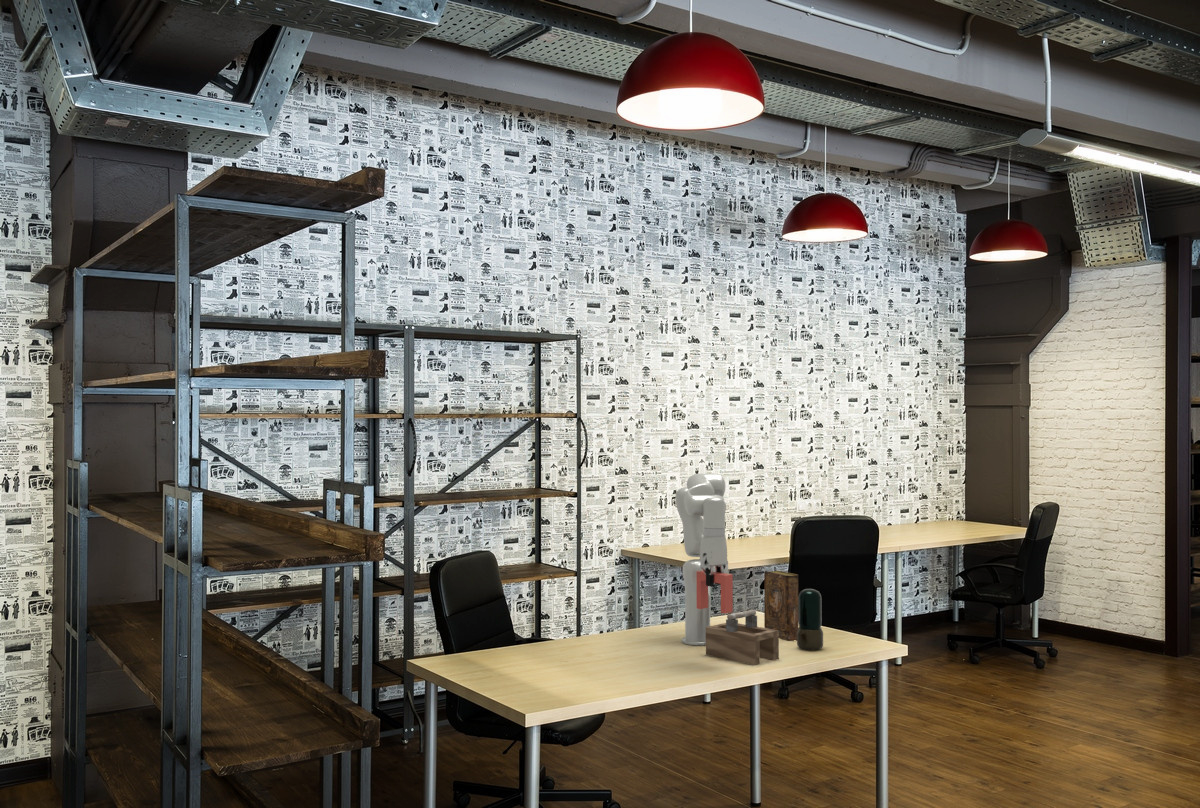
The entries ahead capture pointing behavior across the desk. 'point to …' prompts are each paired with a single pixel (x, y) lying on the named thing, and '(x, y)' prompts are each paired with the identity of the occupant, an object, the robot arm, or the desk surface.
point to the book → (781, 603)
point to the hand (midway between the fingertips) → (714, 584)
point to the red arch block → (726, 590)
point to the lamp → (809, 620)
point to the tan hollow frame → (742, 640)
